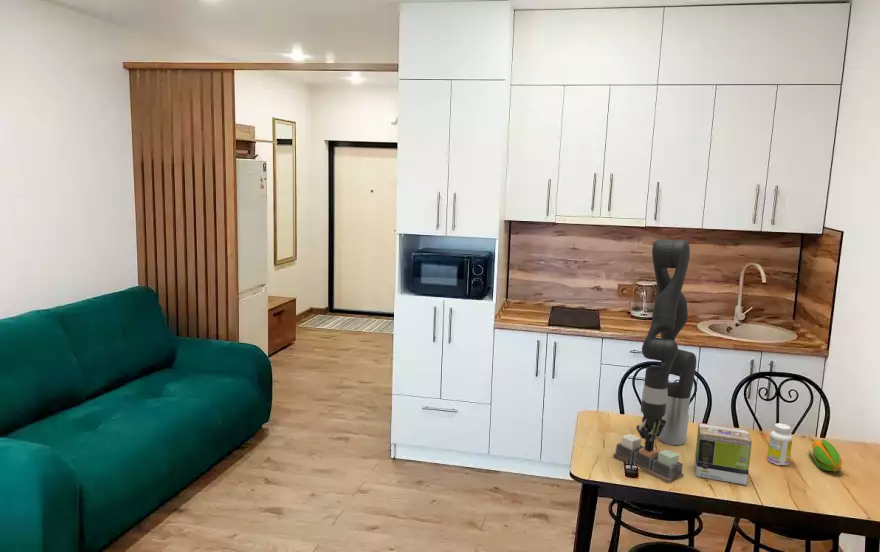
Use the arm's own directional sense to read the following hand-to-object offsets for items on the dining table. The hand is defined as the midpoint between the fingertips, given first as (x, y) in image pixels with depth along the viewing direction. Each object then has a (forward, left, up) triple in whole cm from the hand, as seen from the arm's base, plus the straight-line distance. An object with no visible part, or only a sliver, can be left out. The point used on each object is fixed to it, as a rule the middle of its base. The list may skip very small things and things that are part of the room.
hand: (648, 450), depth 209 cm
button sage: (0, +7, -2) cm, 7 cm away
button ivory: (0, -7, -2) cm, 7 cm away
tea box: (-16, +16, -6) cm, 23 cm away
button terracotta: (0, 0, -4) cm, 4 cm away
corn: (-54, +31, -6) cm, 63 cm away
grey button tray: (0, 0, -6) cm, 6 cm away
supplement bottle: (-42, +22, -6) cm, 47 cm away
